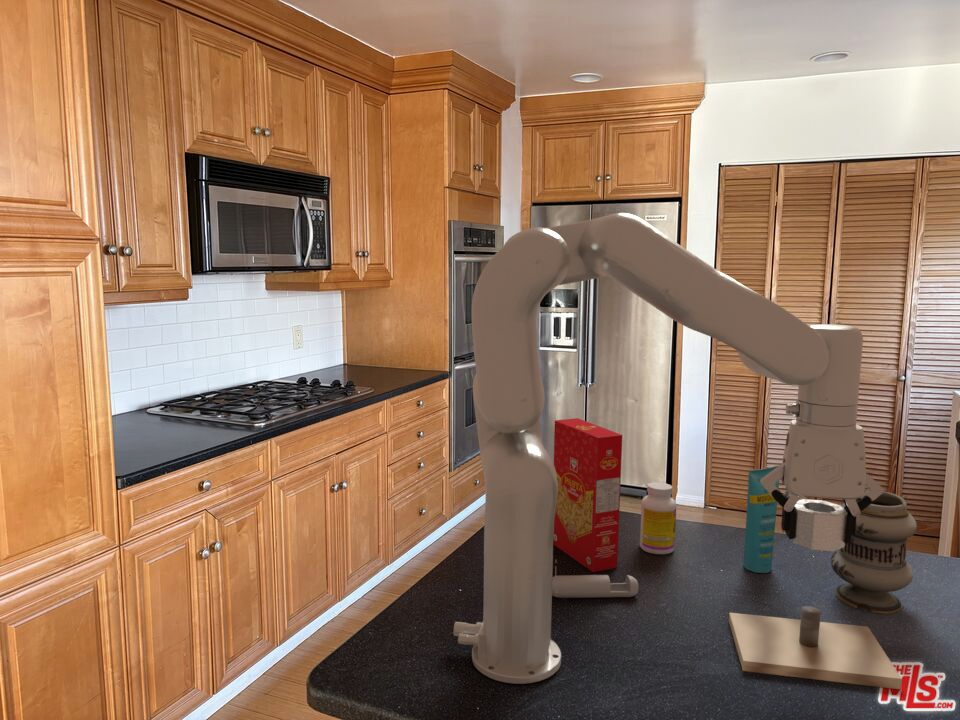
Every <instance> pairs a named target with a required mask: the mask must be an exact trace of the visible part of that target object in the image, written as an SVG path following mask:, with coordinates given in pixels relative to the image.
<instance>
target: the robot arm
mask: <svg viewBox="0 0 960 720" xmlns="http://www.w3.org/2000/svg"><path fill="white" fill-rule="evenodd" d="M603 277H604V278H605V277H608V278H610V279H612V280H613V281H615V282H616V283H618V284H619V285H621V286H622V287H624V288H625V289H626V290H628V291H629V292H630V293H631V292H632V293H633V294H634V295H635V296H637V297H639V298H640V299H642V300H644V301H645V302H646V303H648V304H649V305H650V306H652V307H653V308H655V309H656V310H658V311H659V312H661V313H662V314H664V315H665V316H667V317H668V318H670V320H672V321H675V322H676V323H679V324H680V325H682V326H684V327H686V328H688V329H690V330H692V331H695V332H697V333H700V334H703V335H705V336H708V337H711V338H713V339H714V340H717V341H719V342H721V343H723V344H724V345H727V346H728V347H730V348H732V349H734V350H736V351H737V354H738V357H739V359H740V361H741V362H742V364H743V366H744V367H746V368H747V369H748V370H750V371H751V372H753V373H755V374H757V375H759V376H762V377H765V378H768V379H773V380H775V381H777V382H781V384H782V383H783V384H785V385H789V386H794V387H795V386H797V388H798V389H797V398H796V399H795V402H794V403H791V404H789V403H788V404H787V403H786V405H785V414H786V415H787V414H790V415H792V416H794V417H795V418H796V419H791V422H790V424H789V428H788V429H787V430H788V431H787V433H786V434H787V435H786V438H785V445H784V449H783V454H782V455H783V456H782V463H780V464H779V465H777V466H778V467H777V468H775V469H774V470H772V471H771V472H770V473H768V474H767V475H766V476H764V477H763V478H762V479H761V483H762V485H763V486H764V487H765V489H766V490H767V491H768V492H769V493H770V494H771V495H772V497H773V498H774V499H775V500H776V501H777V504H778V505H780V507H782V509H781V512H782V513H781V522H780V523H781V526H780V527H781V530H782V531H784V533H785V535H786V536H787V538H788V539H789V540H792V539H793V538H795V529H796V512H795V511H794V506H795V505H796V503H797V501H799V500H800V499H801V497H804V498H805V497H806V498H817V499H818V498H819V499H832V500H833V499H835V500H842V502H843V504H844V505H845V507H844V509H845V510H846V512H847V521H846V533H845V543H847V544H850V543H851V536H855V528H856V516H859V515H860V512H861V511H862V510H864V509H865V508H866V507H868V506H869V505H870V504H871V503H872V501H873V500H875V499H876V498H877V497H879V496H880V495H881V494H882V493H883V492H885V490H884V488H883V486H882V485H880V484H879V482H877V481H876V480H875V479H873V478H872V477H871V476H870V475H869V474H868V473H867V469H866V468H867V467H866V465H867V464H866V463H867V461H866V443H865V433H864V428H863V427H862V426H860V425H859V424H857V417H858V409H859V404H858V403H859V394H860V385H861V384H860V383H861V382H860V380H861V368H862V359H863V358H862V357H863V344H864V338H863V337H864V336H863V333H862V331H861V330H860V329H859V328H857V327H855V326H852V325H845V324H836V323H835V324H833V323H832V324H830V323H829V324H828V323H826V324H825V323H818V324H812V325H809V324H807V323H806V322H804V321H803V320H802V319H800V318H798V317H797V316H796V315H794V314H793V313H791V312H789V311H788V310H786V309H785V308H783V307H782V306H781V305H779V304H778V303H776V302H774V301H772V300H770V299H769V298H767V297H765V296H763V295H762V294H760V293H759V292H756V291H755V290H752V289H751V288H749V287H747V286H745V285H743V284H742V283H741V282H738V281H737V280H736V279H734V278H733V277H731V276H729V275H728V274H726V273H724V272H722V271H719V269H716V268H715V267H713V266H712V265H710V264H709V263H707V262H706V261H704V260H702V259H701V258H699V257H698V256H697V255H695V254H693V252H690V250H688V249H686V248H685V247H683V246H682V245H680V244H679V243H677V242H676V240H675V241H674V239H672V238H670V237H669V236H668V235H666V234H664V233H663V232H662V231H661V230H659V229H657V228H656V227H654V226H653V225H651V224H650V223H648V221H645V220H644V219H642V218H641V217H639V216H637V215H634V214H631V213H627V212H616V213H612V214H608V215H605V216H601V217H597V218H592V219H587V220H584V221H577V222H574V223H566V224H560V225H555V226H548V227H539V226H538V227H531V228H526V229H524V230H521V231H519V232H516V233H514V234H513V235H511V237H509V238H508V239H507V241H506V242H505V243H504V245H503V246H502V247H501V248H500V249H499V250H498V251H496V253H495V254H494V255H493V256H492V257H491V258H490V259H489V261H488V262H487V263H486V265H485V267H484V268H483V269H482V271H481V274H480V275H479V278H478V280H477V282H476V285H475V288H474V291H473V294H472V300H471V330H472V340H473V341H472V343H473V344H472V345H473V355H474V364H475V374H474V377H473V381H472V397H473V406H474V407H473V408H474V414H475V416H474V417H475V423H476V430H477V431H476V432H477V438H478V447H479V454H480V461H481V467H482V470H483V471H482V472H483V478H484V488H485V493H484V494H485V503H484V504H485V507H484V508H485V509H484V525H483V526H484V528H483V529H484V530H483V531H484V532H483V533H484V534H483V618H482V622H480V621H476V623H475V624H474V623H468V622H462V621H455V622H454V625H453V636H454V637H455V636H456V637H458V638H457V643H458V644H461V645H472V648H471V649H472V650H471V661H472V663H473V666H474V667H475V668H476V669H477V671H479V672H480V673H481V674H482V675H484V676H486V677H488V678H490V679H492V680H494V681H496V682H497V681H498V682H502V683H506V684H515V685H517V684H519V685H524V684H532V683H537V682H541V681H543V680H545V679H549V678H551V677H552V676H554V674H555V673H557V672H558V670H559V669H560V668H561V664H562V650H561V648H560V647H559V646H558V644H557V643H556V642H555V641H554V640H552V605H553V603H552V600H553V596H552V577H553V569H554V567H553V566H554V544H553V534H554V519H555V511H556V503H557V495H558V481H557V474H556V470H555V467H554V461H553V459H552V458H551V456H550V454H549V452H548V451H547V449H546V448H545V446H544V441H543V433H542V425H541V415H542V414H543V410H544V407H545V399H546V397H545V389H544V383H543V379H542V373H541V364H540V355H539V349H538V348H539V346H538V333H537V331H538V330H537V314H538V311H539V308H540V307H539V306H540V304H541V302H542V300H543V299H544V297H545V296H546V295H547V294H548V293H549V292H551V291H553V290H554V289H556V287H559V286H562V285H568V284H574V283H579V282H584V281H590V280H595V279H600V278H603ZM778 480H779V481H780V480H781V482H782V484H783V485H784V488H785V489H786V490H785V491H784V493H783V492H781V491H780V489H779V490H778V489H777V487H776V486H775V483H776V482H777V481H778ZM865 489H867V490H866V491H865Z"/></svg>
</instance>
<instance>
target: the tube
mask: <svg viewBox="0 0 960 720" xmlns="http://www.w3.org/2000/svg"><path fill="white" fill-rule="evenodd" d="M778 466H779V465H774V466H772V467H771V466H770V467H765V468H759V469H750V470H749V471H748V480H747V481H748V483H747V484H748V486H747V501H746V503H747V505H746V515H745V516H746V518H745V519H746V520H745V534H744V535H745V536H744V547H743V549H744V550H743V551H744V552H743V567H744V568H745V569H746V570H747V571H750V572H753V573H761V574H767V573H770V572H771V571H772V567H773V557H774V556H773V555H774V542H775V541H774V540H775V531H776V521H777V520H776V519H777V512H778V510H777V509H778V502H777V501H776V500H775V499H774V498H773V497H772V495H771V494H770V493H769V492H768V491H767V490H766V489H765V487H764V486H763V485H762V483H761V479H762V478H763V477H764V476H766V475H767V474H768V473H770V472H771V471H772V470H774V469H775V468H777V467H778ZM775 486H776V487H777V489H778V490H779V491H780V489H779V488H780V480H778V481H777V482H776V483H775Z"/></svg>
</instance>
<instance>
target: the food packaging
mask: <svg viewBox="0 0 960 720" xmlns="http://www.w3.org/2000/svg"><path fill="white" fill-rule="evenodd" d="M553 438H554V439H553V440H554V441H553V464H554V467H555V470H556V474H557V481H558V495H557V503H556V511H555V519H554V534H553V546H555V547H557V548H558V549H559V550H561V551H562V550H563V553H565V554H567V555H568V556H569V557H571V559H573V560H574V561H577V562H578V563H579V564H580V565H582V566H584V567H585V568H587V570H589V571H591V572H592V573H596V572H602V571H606V570H610V569H616V568H618V557H619V555H618V554H619V532H620V530H619V528H620V527H619V526H620V509H621V508H620V507H621V506H620V503H621V480H622V478H621V477H622V456H623V455H622V454H623V451H622V450H623V434H621V433H619V432H615V431H613V430H610V429H607V428H605V427H602V426H599V425H598V424H594V423H591V422H589V421H586V420H584V419H582V418H577V417H576V418H575V417H574V418H565V419H556V420H554V437H553Z"/></svg>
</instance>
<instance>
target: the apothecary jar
mask: <svg viewBox="0 0 960 720" xmlns="http://www.w3.org/2000/svg"><path fill="white" fill-rule="evenodd" d="M866 490H867V488H865V491H866ZM840 506H842V507H843V508H844V507H845V505H844V503H842V504H841V505H840ZM917 524H918V523H917V521H916V519H915V517H913V515H912V514H911V513H910V512H909V511H908V508H907V500H906V499H904V498H903V496H900V495H898V494H895V493H892V492H888V491H884V492H883V493H882V494H881V495H880V496H879V497H877V498H876V499H875V500H873V501H872V503H871V504H870V505H869V506H868V507H866V508H865V509H864V510H862V511H861V512H860V515H859V516H856V528H855V536H851V543H850V544H847V543H845V546H844V547H843V548H841V549H838V550H836V551H833V554H832V555H831V558H830V566H831V568H832V570H833V571H834V573H835V574H836V575H837V576H838V577H839V578H840V579H842V581H845V582H846V583H844V584H841V585H838V586H837V587H836V588H835V590H834V593H835V596H836V598H838V600H840V601H841V602H843V603H844V604H846V605H847V606H850V607H852V608H855V609H859V610H866V611H868V612H870V613H876V614H883V613H887V614H893V612H894V613H897V612H899V611H900V610H901V609H902V603H901V601H900V600H899V598H898V597H897V596H896V595H894V594H892V593H891V592H896V591H899V590H903V589H905V587H907V586H909V585H910V584H911V583H912V581H913V578H914V572H913V568H912V567H911V565H910V564H909V562H908V561H907V559H906V555H907V542H908V541H907V540H908V538H910V537H912V536H913V535H915V533H916V532H917V528H918V525H917ZM896 611H897V612H896Z"/></svg>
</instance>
